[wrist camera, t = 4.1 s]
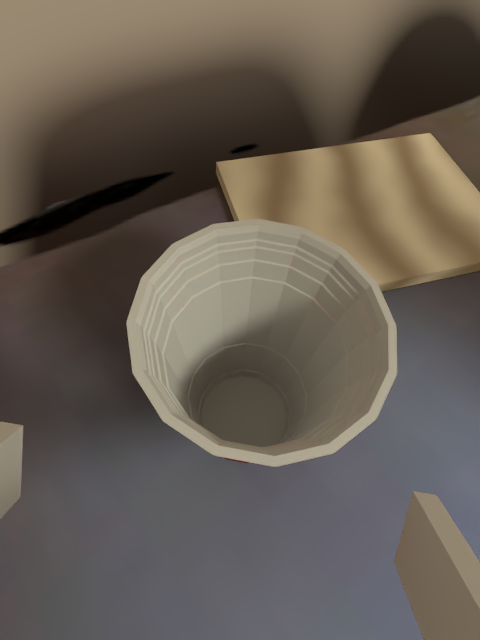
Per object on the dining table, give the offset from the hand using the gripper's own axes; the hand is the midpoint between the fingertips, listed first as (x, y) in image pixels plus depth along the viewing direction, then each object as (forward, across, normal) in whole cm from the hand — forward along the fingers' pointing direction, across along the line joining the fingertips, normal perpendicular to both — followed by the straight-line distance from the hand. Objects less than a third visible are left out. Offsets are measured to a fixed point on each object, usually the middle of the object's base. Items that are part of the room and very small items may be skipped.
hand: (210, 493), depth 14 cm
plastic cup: (+12, +1, -3) cm, 13 cm away
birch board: (+26, +8, +11) cm, 30 cm away
